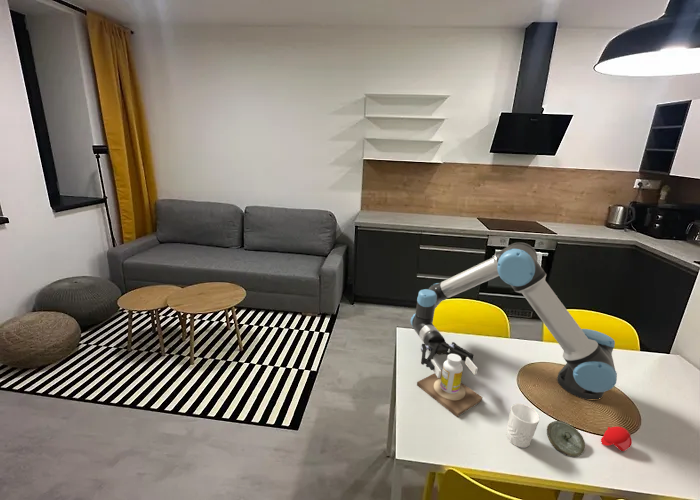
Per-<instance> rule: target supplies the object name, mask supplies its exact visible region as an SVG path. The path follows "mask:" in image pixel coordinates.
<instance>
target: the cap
mask: <svg viewBox="0 0 700 500" xmlns="http://www.w3.org/2000/svg"><path fill="white" fill-rule="evenodd" d="M603 433H604V434H603V435H602V436H601V438H600V443H601V442H602V443H601V445H603V446H605V447H606V446H607V447H609V446H612V445H613V446H615V447H616V448H617V449H618V451H620V450H621V451H623V452H625V451H627V450H628V449H630V448H631V446H632V445H633V444H632V443H633V439H632V437H631V433H630V432H629V431H628V430H627V429H626V428H624V427H622V426H611V427H610V426H608V427H607V429H606V430H605V431H604V432H603ZM621 451H620V452H621Z"/></svg>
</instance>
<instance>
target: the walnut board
mask: <svg viewBox="0 0 700 500" xmlns="http://www.w3.org/2000/svg"><path fill="white" fill-rule="evenodd" d="M440 370H441V376H440V378H438V377H437V376H436V374H435V373H432V374H430V375H427V376H426V377H424V378H422V379H421V380H418V381H417V382H416V386H417V387H418V388H419V389H421V390H422V391H423V392H425V394H427V395H428V396H429V397H431V398H432V399H434V401H436V402H437V403H438V404H440V405H441V406H442V407H444V408H445V410H447V411H448V412H450V413H451V414H452V415H454V416H455V417H456V418H458V417H459V416H461V415H462V414H464V413H466V412H468V411H469V410H470V409H472V408H473V407H475V406H477V405H478V404H479V403H481V402H482V401H483V396H481V395H480V394H479V393H477V392H475V391H474V390H473V389H471V388H470V387H469V386H467V385H465V384H464V383H463V382H461V383H460V389H459V391H458V392H457V393H455V394H450V393H447V392H445V391H443V390H442V388H441V386H440V383H441V377H442V370H443V369H440Z"/></svg>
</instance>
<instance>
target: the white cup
mask: <svg viewBox="0 0 700 500" xmlns="http://www.w3.org/2000/svg"><path fill="white" fill-rule="evenodd" d="M540 420H541V419H540V415H539V414H538V412H537V411H536V410H535V409H534V408H532V407H531V406H529V405H526V404H524V403H515V404H512V405H511V406H510V411H509V415H508V422H507V427H506V434H505V436H506V438H507V440H508V441H509V443H511V444H512V445H514V446H516V447H518V448H521V449H525V448H527V447H529V446H530V444H531V442H532V440H533V438H534V435H535V432H536V430H537V427H538V424H539V422H540Z"/></svg>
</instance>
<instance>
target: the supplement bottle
mask: <svg viewBox="0 0 700 500" xmlns="http://www.w3.org/2000/svg"><path fill="white" fill-rule="evenodd" d="M463 369H464V367H463V364H462V360H461V357H460V356H459V355H457V354H449V355H447V357H446V360H445V361H444V362H443V363H442V369H441V370H442V377H441V383H440V386H441V388H442V390H443V391H445V392H447V393H450V394H455V393H457V392H458V391H459V389H460V383H462V377H463Z"/></svg>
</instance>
